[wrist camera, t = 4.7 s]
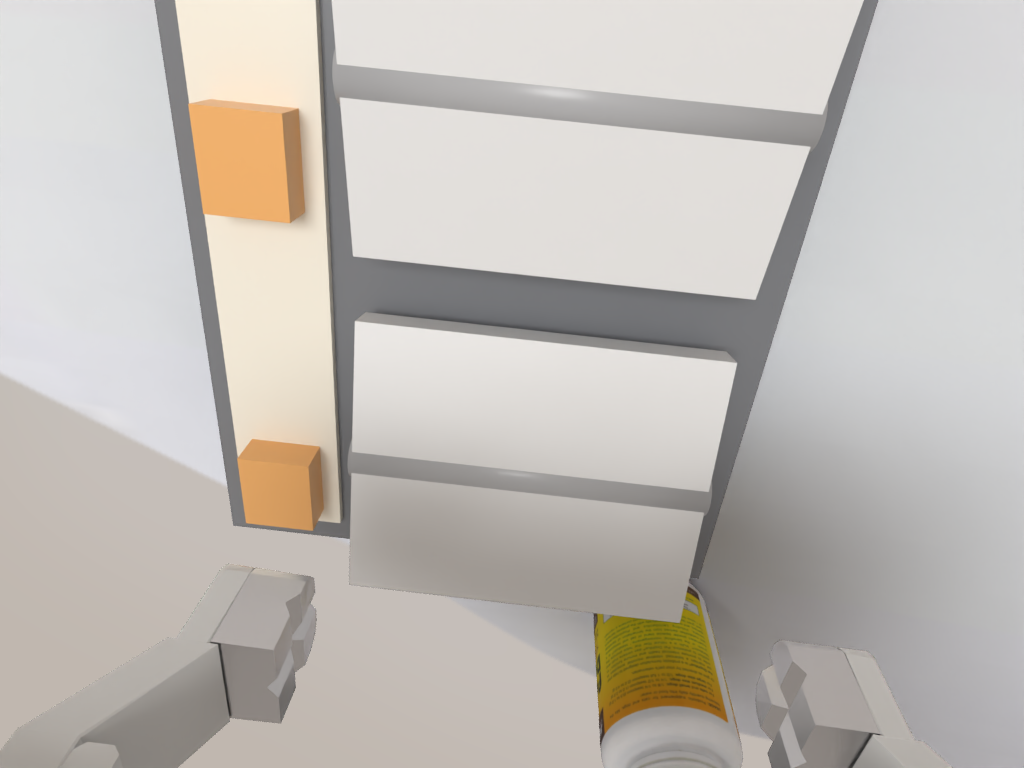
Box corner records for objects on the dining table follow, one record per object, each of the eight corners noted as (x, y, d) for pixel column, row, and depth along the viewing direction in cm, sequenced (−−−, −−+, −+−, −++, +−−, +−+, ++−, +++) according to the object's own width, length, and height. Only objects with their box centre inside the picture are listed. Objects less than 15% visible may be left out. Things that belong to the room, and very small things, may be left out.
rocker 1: (886, -118, 13) (914, -117, 12) (749, 276, 19) (760, 302, 18) (332, -173, 13) (309, -176, 12) (361, 234, 19) (348, 257, 18)
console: (840, -108, 19) (960, -164, 13) (677, 496, 30) (705, 609, 24) (221, -169, 19) (77, -251, 13) (281, 451, 30) (215, 552, 24)
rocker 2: (729, 351, 20) (741, 364, 19) (675, 598, 23) (683, 625, 22) (363, 311, 20) (350, 321, 19) (356, 561, 23) (345, 586, 22)
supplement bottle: (573, 585, 33) (578, 798, 24) (680, 550, 31) (728, 763, 22) (619, 655, 35) (639, 874, 26) (721, 626, 33) (780, 847, 24)
